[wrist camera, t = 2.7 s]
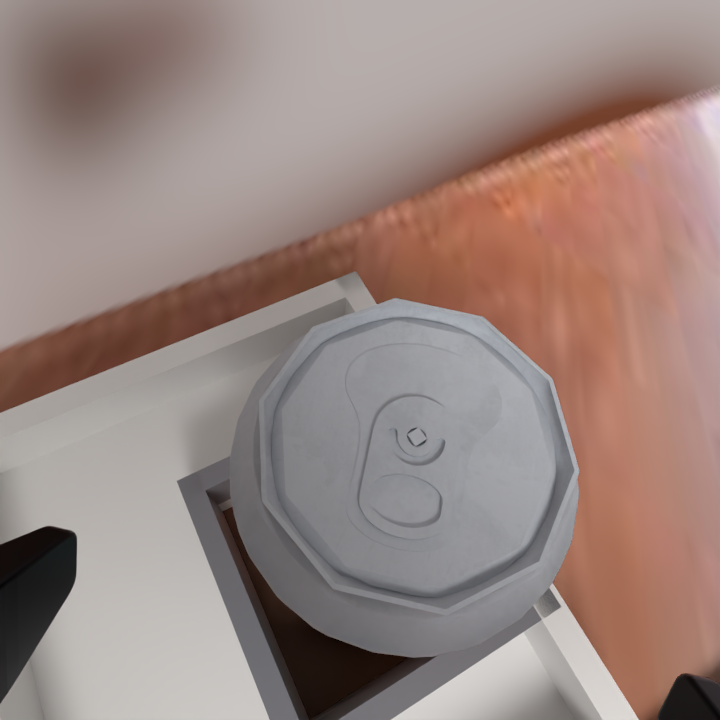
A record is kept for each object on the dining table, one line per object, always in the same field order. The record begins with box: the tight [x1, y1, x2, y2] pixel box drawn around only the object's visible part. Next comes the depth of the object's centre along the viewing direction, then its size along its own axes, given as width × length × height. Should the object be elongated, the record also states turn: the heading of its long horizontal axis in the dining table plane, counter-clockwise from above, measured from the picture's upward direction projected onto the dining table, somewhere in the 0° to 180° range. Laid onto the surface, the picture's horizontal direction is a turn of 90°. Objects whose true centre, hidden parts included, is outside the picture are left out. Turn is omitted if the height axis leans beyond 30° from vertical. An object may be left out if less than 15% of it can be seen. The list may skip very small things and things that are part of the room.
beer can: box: [230, 298, 580, 658], centre depth 12 cm, size 5×5×12 cm
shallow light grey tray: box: [0, 271, 639, 720], centre depth 15 cm, size 16×14×3 cm
